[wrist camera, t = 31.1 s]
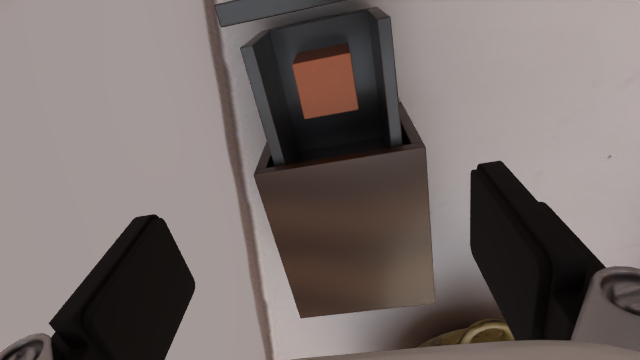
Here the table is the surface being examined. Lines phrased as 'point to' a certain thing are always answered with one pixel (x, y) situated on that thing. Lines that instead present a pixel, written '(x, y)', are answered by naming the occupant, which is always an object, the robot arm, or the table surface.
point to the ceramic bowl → (474, 334)
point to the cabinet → (353, 227)
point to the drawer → (281, 90)
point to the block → (325, 81)
